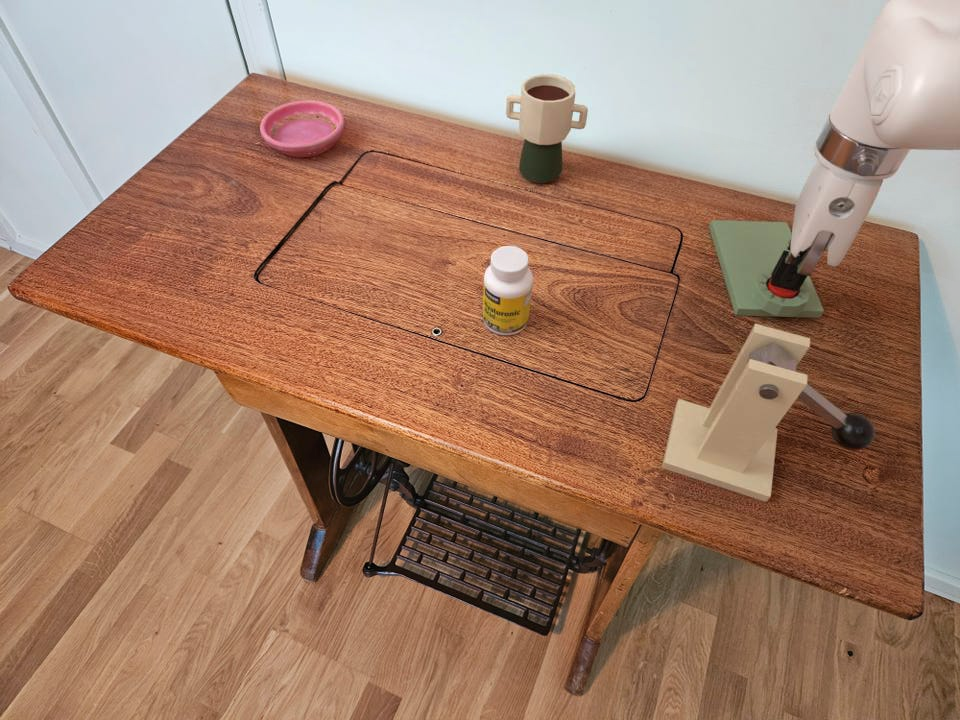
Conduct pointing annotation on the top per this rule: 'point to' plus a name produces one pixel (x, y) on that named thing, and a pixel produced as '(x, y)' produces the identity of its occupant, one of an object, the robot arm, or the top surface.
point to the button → (781, 291)
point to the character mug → (545, 124)
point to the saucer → (303, 128)
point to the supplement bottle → (507, 291)
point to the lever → (822, 403)
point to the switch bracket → (738, 420)
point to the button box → (759, 269)
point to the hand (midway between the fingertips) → (784, 283)
